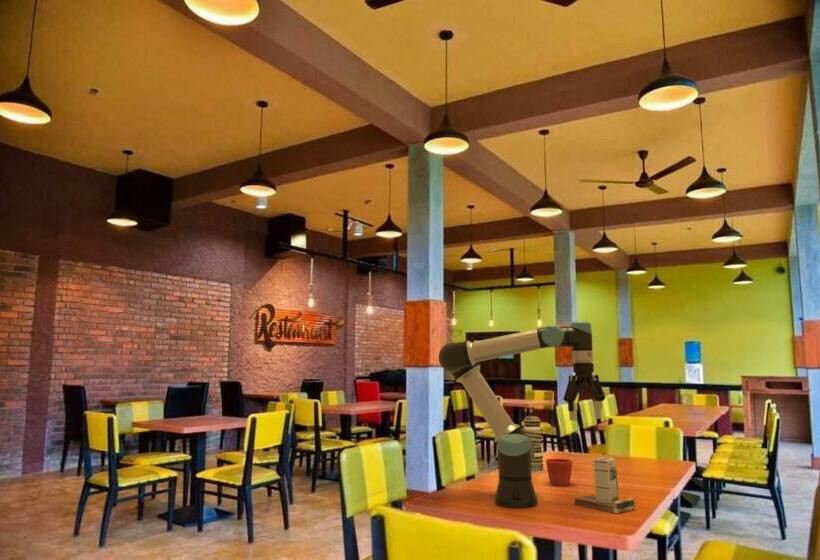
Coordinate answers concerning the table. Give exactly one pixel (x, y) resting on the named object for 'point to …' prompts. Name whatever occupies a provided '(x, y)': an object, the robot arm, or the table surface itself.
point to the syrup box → (606, 480)
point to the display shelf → (605, 504)
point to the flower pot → (559, 471)
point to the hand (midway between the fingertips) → (585, 419)
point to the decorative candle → (535, 441)
